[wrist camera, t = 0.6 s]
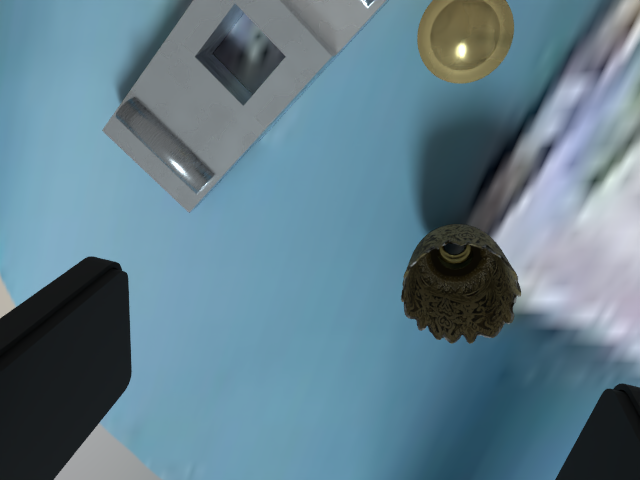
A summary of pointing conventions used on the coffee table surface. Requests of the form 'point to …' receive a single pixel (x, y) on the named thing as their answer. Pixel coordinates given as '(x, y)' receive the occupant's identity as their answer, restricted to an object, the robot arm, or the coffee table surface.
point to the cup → (460, 285)
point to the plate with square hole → (225, 88)
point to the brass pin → (465, 38)
